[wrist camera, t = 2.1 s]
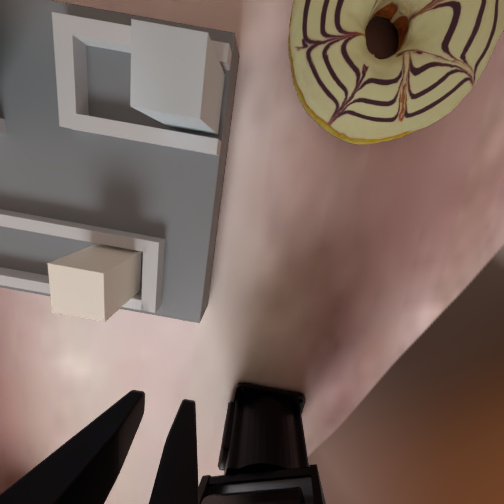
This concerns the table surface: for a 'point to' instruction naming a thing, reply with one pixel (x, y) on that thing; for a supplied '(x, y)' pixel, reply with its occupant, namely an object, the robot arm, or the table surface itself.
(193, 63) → the grey slider
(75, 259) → the cream slider
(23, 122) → the panel
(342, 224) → the table surface
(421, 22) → the decorated donut
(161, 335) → the table surface
